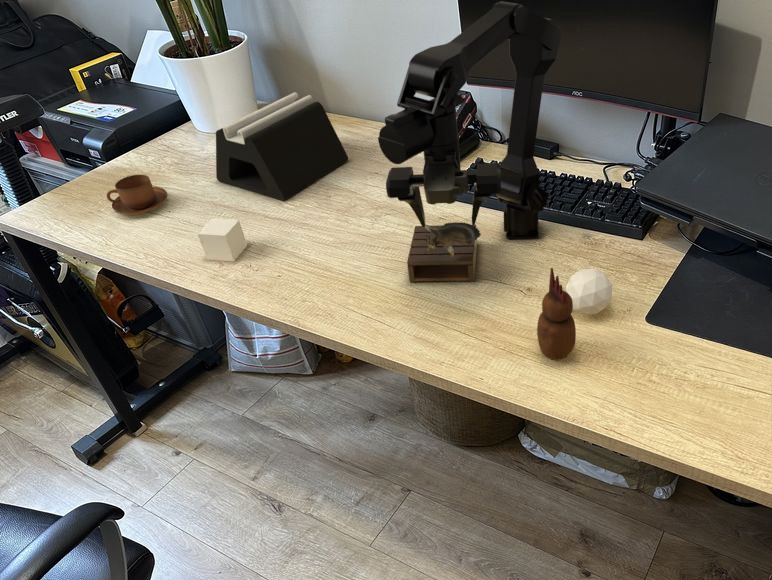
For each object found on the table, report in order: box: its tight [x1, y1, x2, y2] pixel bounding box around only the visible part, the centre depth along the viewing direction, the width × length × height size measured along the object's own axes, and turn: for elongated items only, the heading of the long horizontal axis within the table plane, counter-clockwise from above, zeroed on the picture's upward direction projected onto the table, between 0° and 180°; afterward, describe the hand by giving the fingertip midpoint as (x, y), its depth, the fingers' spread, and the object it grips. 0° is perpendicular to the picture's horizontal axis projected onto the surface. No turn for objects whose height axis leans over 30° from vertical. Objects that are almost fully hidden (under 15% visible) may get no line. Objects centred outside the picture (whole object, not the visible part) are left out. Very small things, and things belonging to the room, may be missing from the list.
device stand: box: [215, 92, 349, 202], centre depth 155 cm, size 22×22×15 cm
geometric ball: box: [565, 268, 613, 315], centre depth 110 cm, size 8×8×8 cm
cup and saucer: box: [106, 174, 168, 216], centre depth 148 cm, size 12×12×6 cm
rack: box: [406, 224, 478, 284], centre depth 124 cm, size 12×13×4 cm
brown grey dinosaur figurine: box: [424, 222, 482, 257], centre depth 115 cm, size 8×7×9 cm
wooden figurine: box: [536, 267, 577, 361], centre depth 100 cm, size 7×6×15 cm
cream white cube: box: [197, 217, 248, 262], centre depth 131 cm, size 6×6×6 cm
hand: (448, 225), depth 113 cm, fingers closed on brown grey dinosaur figurine, 8 cm apart
